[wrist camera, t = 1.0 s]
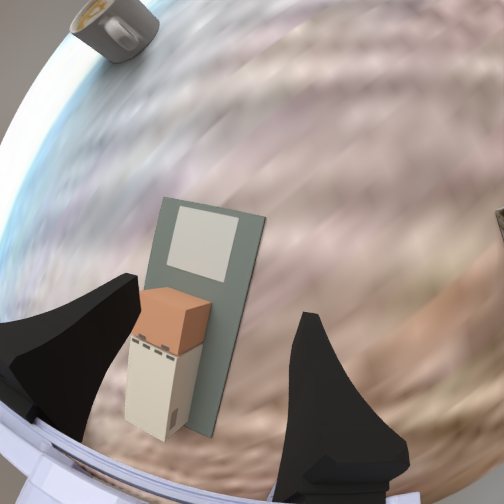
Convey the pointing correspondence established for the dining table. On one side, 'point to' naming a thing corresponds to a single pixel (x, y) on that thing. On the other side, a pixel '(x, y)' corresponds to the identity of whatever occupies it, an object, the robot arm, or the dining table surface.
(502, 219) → the coffee box
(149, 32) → the coffee mug
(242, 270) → the mat
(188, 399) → the cream rectangular block
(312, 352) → the robot arm
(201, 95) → the dining table surface
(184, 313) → the stub
